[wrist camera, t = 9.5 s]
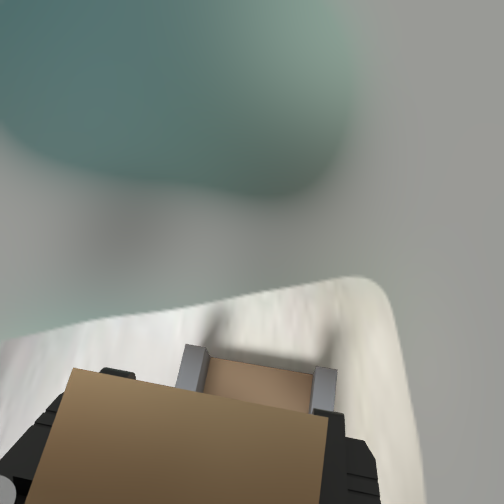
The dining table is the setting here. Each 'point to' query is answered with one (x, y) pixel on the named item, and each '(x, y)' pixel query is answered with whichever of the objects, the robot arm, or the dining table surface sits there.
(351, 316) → the dining table surface
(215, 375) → the walnut track
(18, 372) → the dining table surface
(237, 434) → the oak block
